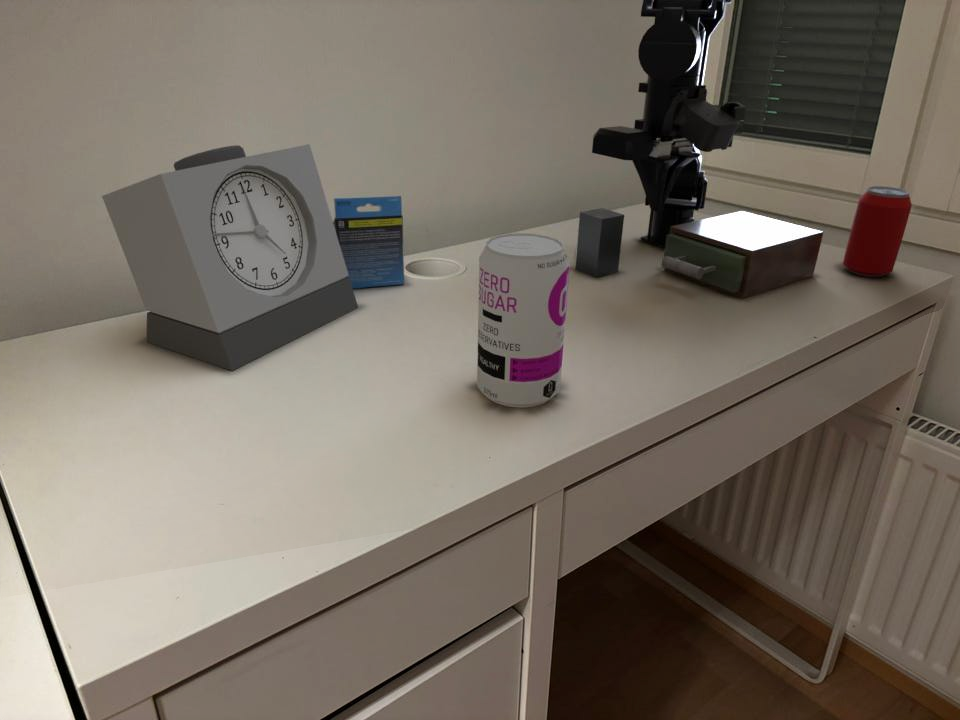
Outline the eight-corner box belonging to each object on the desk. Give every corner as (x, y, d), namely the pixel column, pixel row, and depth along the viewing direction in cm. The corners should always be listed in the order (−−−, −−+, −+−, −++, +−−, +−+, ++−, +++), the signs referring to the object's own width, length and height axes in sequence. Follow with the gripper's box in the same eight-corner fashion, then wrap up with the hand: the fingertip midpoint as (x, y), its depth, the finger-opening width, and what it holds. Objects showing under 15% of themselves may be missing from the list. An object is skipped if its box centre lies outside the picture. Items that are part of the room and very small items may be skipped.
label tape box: (400, 276, 99) (397, 188, 94) (405, 286, 96) (402, 195, 90) (336, 280, 97) (329, 191, 92) (339, 291, 94) (332, 198, 88)
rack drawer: (713, 299, 91) (719, 263, 89) (641, 272, 100) (645, 239, 98) (801, 271, 101) (808, 239, 99) (729, 249, 110) (734, 219, 108)
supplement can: (567, 378, 72) (578, 236, 66) (547, 417, 65) (558, 263, 59) (492, 366, 75) (496, 227, 68) (465, 402, 68) (466, 251, 61)
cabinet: (742, 298, 94) (752, 250, 91) (664, 270, 104) (670, 226, 101) (813, 275, 103) (823, 231, 100) (734, 251, 112) (742, 210, 109)
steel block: (575, 269, 103) (579, 212, 99) (596, 264, 106) (602, 207, 102) (596, 277, 100) (601, 219, 96) (618, 272, 102) (624, 214, 99)
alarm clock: (232, 370, 73) (201, 171, 64) (132, 337, 80) (92, 152, 70) (358, 307, 89) (347, 140, 80) (266, 284, 96) (247, 128, 86)
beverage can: (880, 265, 108) (902, 186, 102) (899, 280, 102) (924, 197, 96) (834, 263, 108) (854, 184, 103) (850, 277, 102) (872, 194, 97)
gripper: (673, 83, 70) (653, 237, 76) (784, 77, 79) (757, 214, 86) (595, 75, 78) (583, 215, 85) (704, 70, 87) (685, 196, 94)
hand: (655, 210), depth 87 cm, fingers closed
